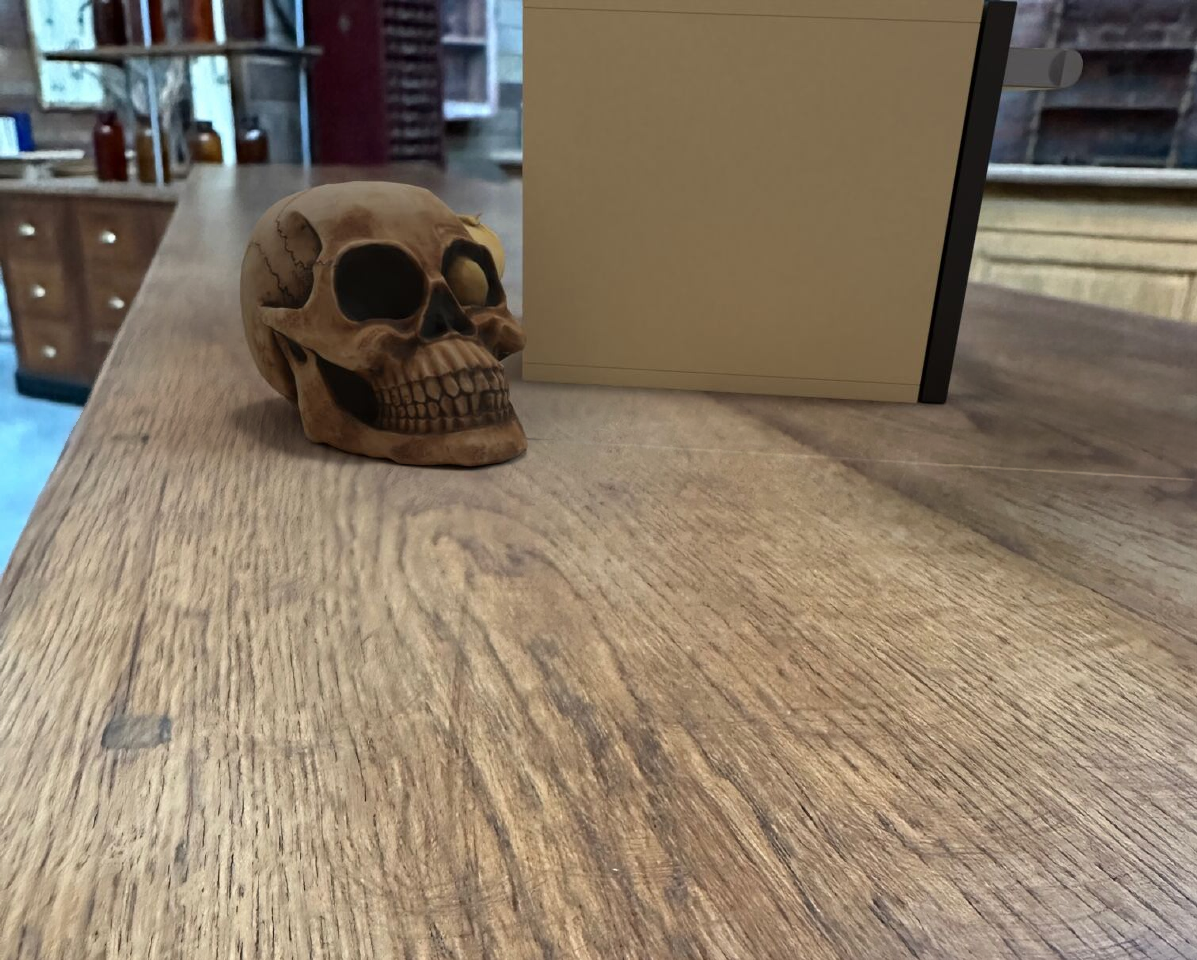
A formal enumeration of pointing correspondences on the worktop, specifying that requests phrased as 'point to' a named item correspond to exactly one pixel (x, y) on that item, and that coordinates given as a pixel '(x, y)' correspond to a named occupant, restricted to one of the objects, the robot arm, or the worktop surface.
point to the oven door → (981, 171)
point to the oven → (739, 190)
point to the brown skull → (383, 324)
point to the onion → (485, 239)
